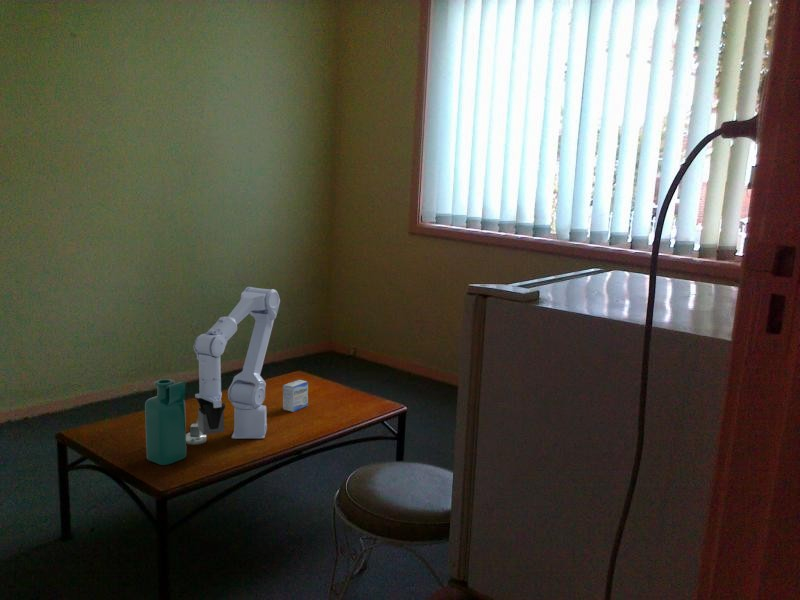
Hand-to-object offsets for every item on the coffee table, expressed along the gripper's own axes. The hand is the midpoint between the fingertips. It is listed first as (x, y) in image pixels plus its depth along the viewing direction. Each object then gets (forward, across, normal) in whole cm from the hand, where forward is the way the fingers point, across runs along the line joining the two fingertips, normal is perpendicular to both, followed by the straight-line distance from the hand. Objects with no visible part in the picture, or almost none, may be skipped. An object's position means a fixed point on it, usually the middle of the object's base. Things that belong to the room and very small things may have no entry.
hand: (211, 425), depth 196 cm
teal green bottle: (+8, -1, -12) cm, 14 cm away
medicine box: (+8, -26, +35) cm, 44 cm away
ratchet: (+8, -16, +1) cm, 18 cm away
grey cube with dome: (+1, 0, 0) cm, 1 cm away
